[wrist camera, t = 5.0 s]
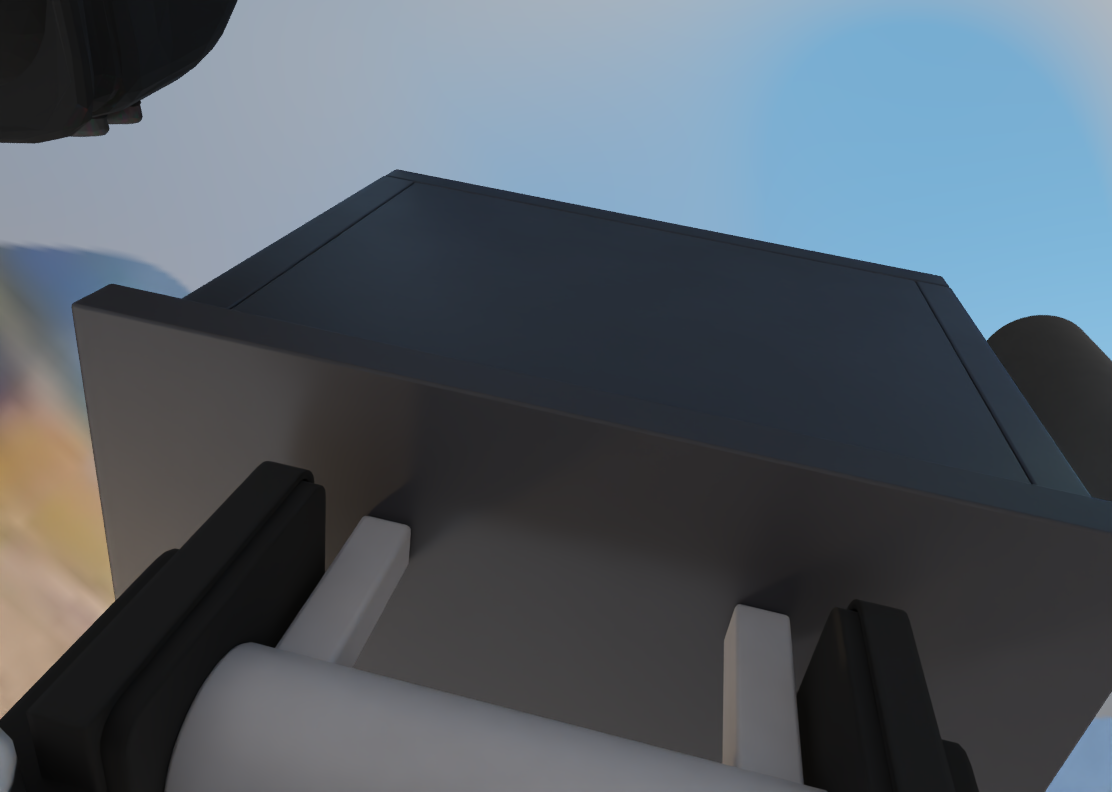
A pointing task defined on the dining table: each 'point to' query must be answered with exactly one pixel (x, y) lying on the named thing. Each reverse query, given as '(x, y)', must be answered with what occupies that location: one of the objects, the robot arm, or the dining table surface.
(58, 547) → the dining table surface
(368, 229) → the open-top black box
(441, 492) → the box lid
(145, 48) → the controller
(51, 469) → the dining table surface
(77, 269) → the dining table surface
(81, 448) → the dining table surface
